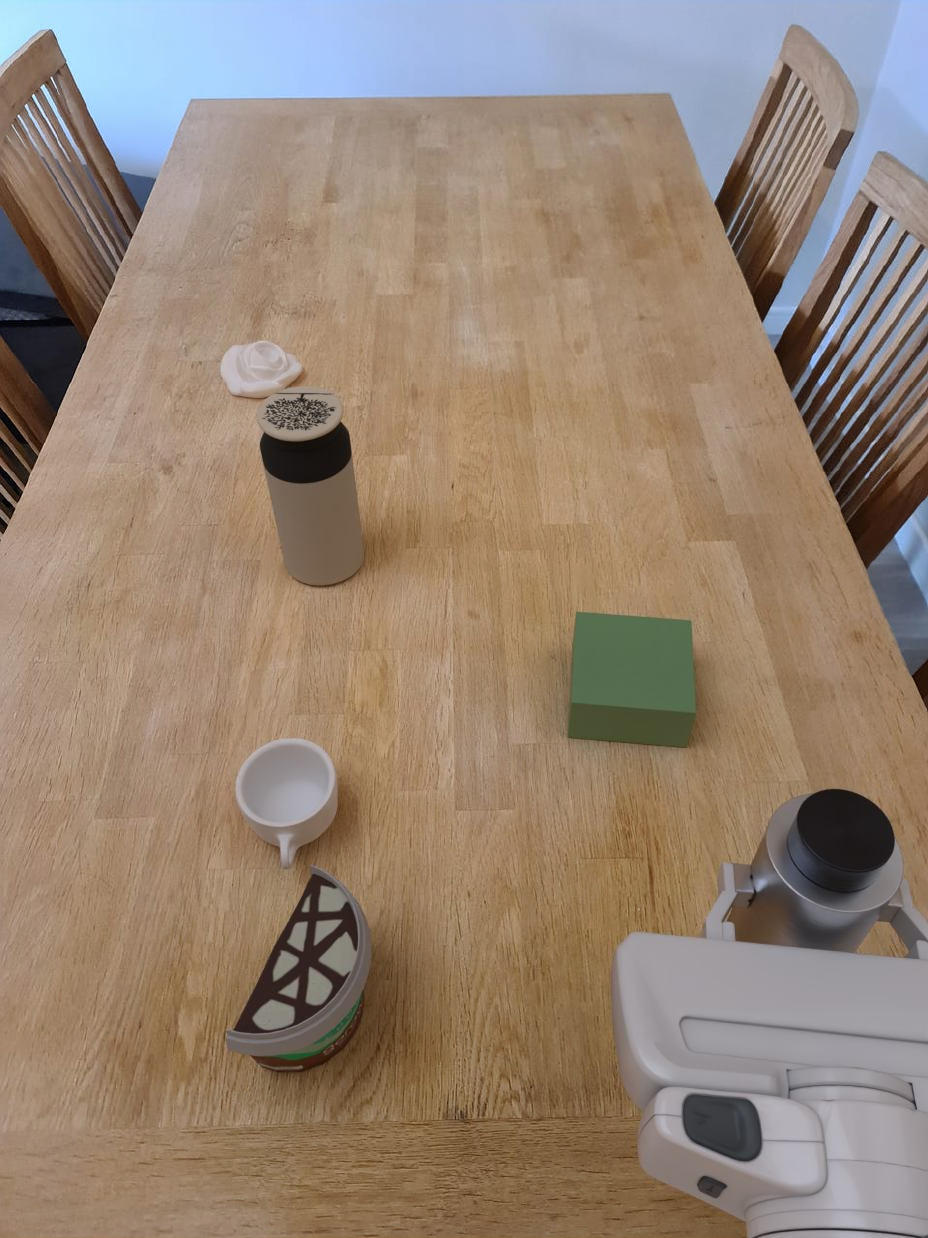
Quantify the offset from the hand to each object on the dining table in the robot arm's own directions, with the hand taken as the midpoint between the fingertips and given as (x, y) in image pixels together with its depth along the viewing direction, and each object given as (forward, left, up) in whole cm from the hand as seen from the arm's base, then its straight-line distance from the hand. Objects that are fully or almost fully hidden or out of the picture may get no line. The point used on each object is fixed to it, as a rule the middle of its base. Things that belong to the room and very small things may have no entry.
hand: (808, 874), depth 50 cm
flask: (0, +1, -8) cm, 8 cm away
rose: (+51, -71, -22) cm, 90 cm away
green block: (+7, -27, -22) cm, 36 cm away
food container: (+27, +3, -22) cm, 35 cm away
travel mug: (+37, -41, -22) cm, 60 cm away
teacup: (+33, -11, -22) cm, 41 cm away
